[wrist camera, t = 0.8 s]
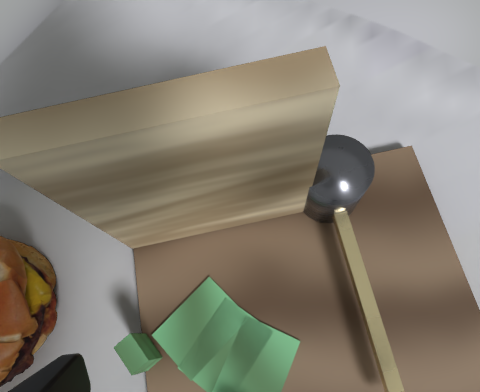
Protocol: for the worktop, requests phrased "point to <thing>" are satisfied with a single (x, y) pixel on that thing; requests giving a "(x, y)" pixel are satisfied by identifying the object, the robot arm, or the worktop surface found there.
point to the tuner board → (309, 301)
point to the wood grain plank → (206, 161)
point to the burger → (23, 306)
